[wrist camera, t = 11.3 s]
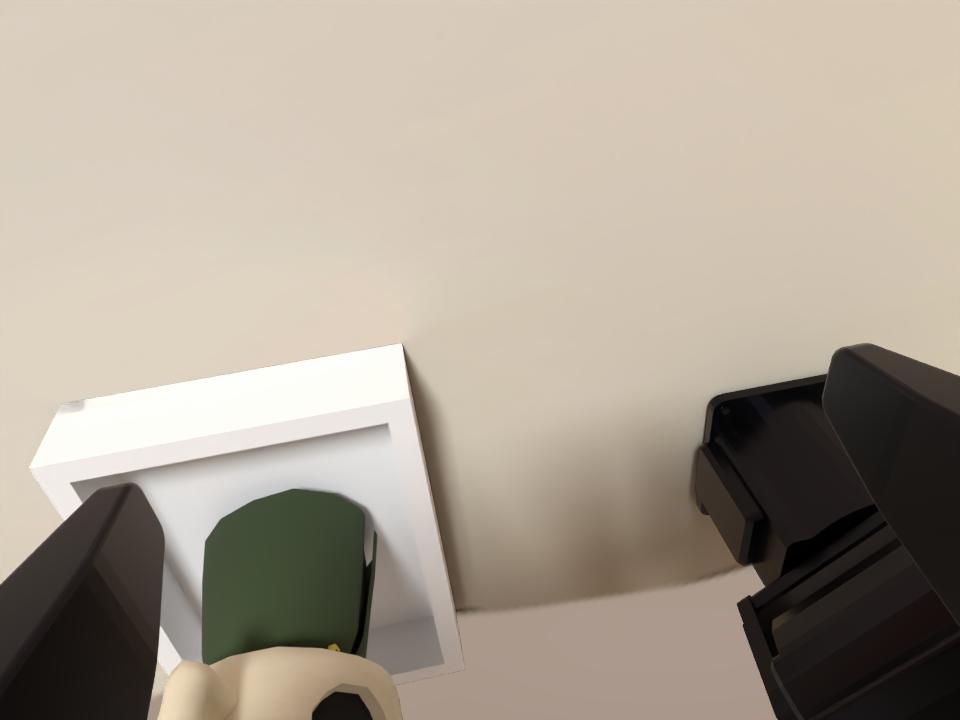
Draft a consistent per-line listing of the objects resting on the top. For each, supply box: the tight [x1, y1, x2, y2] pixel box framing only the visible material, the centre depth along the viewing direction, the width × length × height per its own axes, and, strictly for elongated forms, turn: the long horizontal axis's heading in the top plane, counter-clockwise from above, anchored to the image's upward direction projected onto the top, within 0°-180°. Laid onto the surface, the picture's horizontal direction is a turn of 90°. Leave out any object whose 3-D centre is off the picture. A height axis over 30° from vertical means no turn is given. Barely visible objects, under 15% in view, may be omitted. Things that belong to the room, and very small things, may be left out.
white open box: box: [29, 343, 465, 685], centre depth 26 cm, size 11×15×3 cm
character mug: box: [157, 488, 403, 720], centre depth 22 cm, size 11×7×13 cm, turn 18°
